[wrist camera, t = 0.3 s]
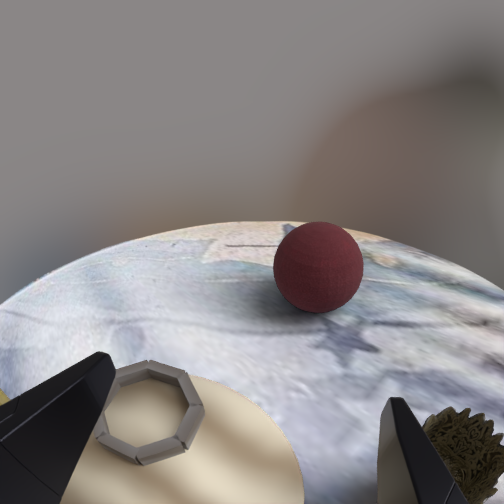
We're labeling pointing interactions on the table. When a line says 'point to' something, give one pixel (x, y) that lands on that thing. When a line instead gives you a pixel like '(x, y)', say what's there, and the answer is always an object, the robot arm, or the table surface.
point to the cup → (468, 451)
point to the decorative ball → (318, 267)
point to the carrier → (183, 445)
